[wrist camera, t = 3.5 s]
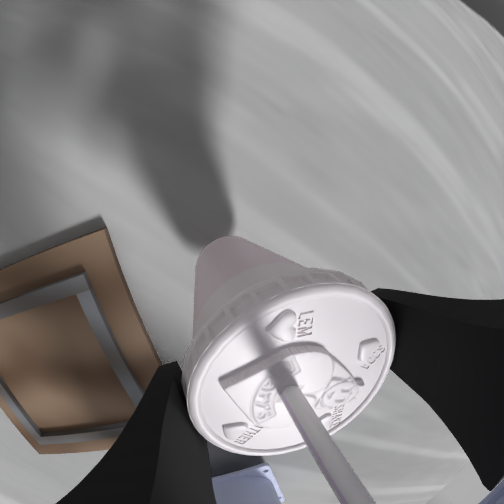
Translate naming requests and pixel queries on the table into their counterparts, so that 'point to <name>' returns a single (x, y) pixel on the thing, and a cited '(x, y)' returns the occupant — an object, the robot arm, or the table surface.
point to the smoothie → (283, 356)
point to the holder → (71, 347)
